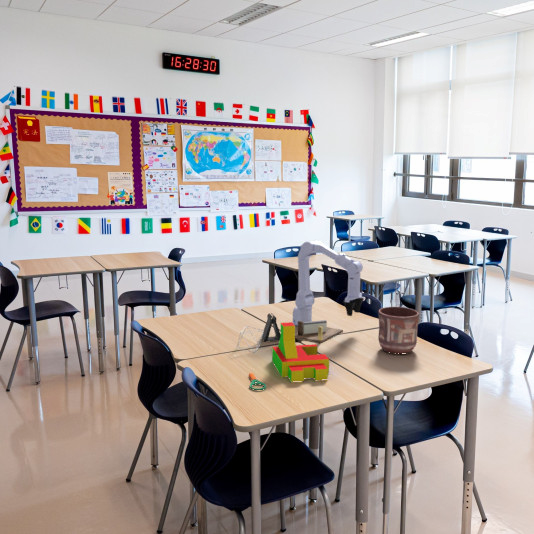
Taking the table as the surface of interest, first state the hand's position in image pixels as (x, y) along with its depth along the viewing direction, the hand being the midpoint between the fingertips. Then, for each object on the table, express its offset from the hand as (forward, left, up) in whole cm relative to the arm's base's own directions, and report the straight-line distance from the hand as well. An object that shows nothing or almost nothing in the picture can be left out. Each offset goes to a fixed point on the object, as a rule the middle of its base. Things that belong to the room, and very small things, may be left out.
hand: (353, 313), depth 276 cm
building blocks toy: (+6, -57, -10) cm, 58 cm away
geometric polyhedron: (-27, -47, -10) cm, 55 cm away
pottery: (+28, -12, -10) cm, 32 cm away
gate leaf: (-14, -13, -9) cm, 21 cm away
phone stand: (-27, -30, -10) cm, 42 cm away
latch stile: (-6, -21, -9) cm, 23 cm away
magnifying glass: (-1, -79, -11) cm, 80 cm away
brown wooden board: (-13, -11, -10) cm, 20 cm away
